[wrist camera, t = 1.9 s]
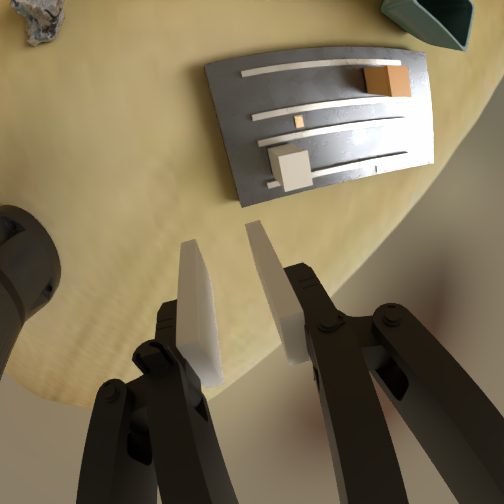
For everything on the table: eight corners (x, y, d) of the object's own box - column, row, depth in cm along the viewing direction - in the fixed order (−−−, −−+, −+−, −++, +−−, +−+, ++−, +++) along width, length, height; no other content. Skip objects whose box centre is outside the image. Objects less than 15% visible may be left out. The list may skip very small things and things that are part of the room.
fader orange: (367, 95, 24) (392, 97, 20) (362, 67, 22) (387, 65, 19) (386, 94, 24) (411, 97, 20) (381, 67, 22) (407, 66, 19)
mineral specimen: (55, 18, 17) (111, 12, 18) (10, 57, 15) (61, 52, 16) (42, -37, 8) (104, -56, 9) (-13, -1, 6) (39, -26, 6)
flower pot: (415, 53, 23) (467, 53, 16) (362, 14, 20) (411, -1, 13) (428, 10, 20) (475, 5, 12) (378, -29, 17) (423, -46, 9)
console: (239, 201, 30) (242, 210, 28) (203, 67, 22) (204, 64, 20) (424, 158, 31) (436, 164, 29) (414, 52, 23) (427, 52, 21)
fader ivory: (272, 177, 27) (285, 192, 24) (266, 147, 26) (278, 156, 22) (296, 172, 27) (312, 185, 24) (291, 142, 26) (307, 150, 22)
